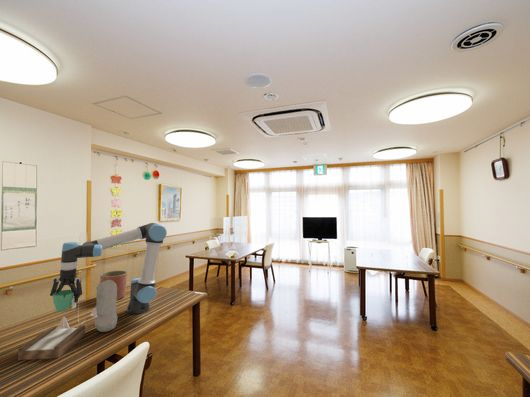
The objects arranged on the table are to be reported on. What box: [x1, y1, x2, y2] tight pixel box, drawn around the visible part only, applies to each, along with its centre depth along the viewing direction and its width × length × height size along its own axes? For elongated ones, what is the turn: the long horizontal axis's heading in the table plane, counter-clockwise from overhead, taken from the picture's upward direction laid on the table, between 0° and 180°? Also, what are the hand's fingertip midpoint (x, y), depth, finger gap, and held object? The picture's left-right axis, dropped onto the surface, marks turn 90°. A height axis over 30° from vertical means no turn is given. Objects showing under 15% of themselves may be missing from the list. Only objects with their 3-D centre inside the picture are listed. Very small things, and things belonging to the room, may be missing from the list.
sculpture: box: [94, 280, 118, 333], centre depth 150 cm, size 15×12×30 cm
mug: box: [52, 289, 81, 313], centre depth 142 cm, size 15×10×10 cm
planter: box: [99, 269, 128, 301], centre depth 200 cm, size 19×19×20 cm
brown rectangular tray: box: [17, 325, 86, 361], centre depth 130 cm, size 18×22×6 cm
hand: (65, 307), depth 141 cm, fingers closed on mug, 9 cm apart
